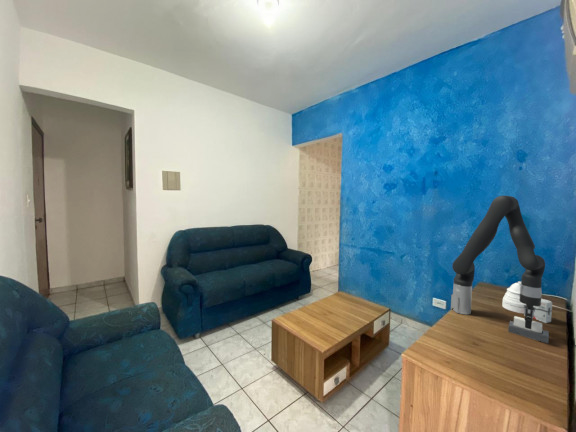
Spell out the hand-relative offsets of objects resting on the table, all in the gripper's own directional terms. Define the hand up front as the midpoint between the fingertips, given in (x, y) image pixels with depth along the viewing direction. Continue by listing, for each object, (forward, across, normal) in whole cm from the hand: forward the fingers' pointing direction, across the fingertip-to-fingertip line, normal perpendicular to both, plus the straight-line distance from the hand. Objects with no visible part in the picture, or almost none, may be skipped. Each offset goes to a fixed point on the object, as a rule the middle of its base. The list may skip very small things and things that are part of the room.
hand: (528, 325), depth 118 cm
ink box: (+5, +28, -4) cm, 28 cm away
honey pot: (+5, +36, +6) cm, 37 cm away
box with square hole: (+5, 0, 0) cm, 5 cm away
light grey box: (+5, 0, 0) cm, 5 cm away
